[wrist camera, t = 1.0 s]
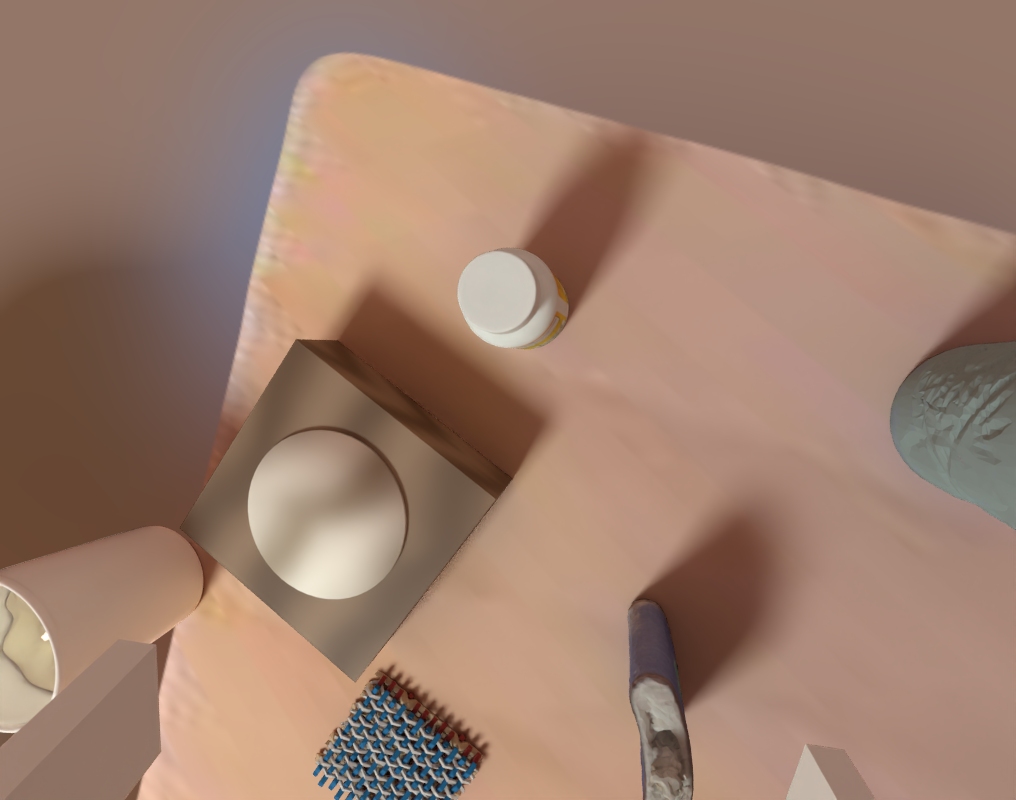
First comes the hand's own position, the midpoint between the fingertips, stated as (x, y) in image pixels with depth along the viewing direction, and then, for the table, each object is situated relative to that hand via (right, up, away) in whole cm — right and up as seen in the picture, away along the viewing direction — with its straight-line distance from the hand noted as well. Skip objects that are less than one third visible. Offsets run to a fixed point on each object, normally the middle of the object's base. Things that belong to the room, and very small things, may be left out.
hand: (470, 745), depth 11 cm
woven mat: (-7, -20, +30) cm, 37 cm away
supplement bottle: (+2, +13, +24) cm, 28 cm away
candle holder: (-28, -7, +33) cm, 43 cm away
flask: (+11, -11, +25) cm, 29 cm away
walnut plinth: (-10, 0, +28) cm, 30 cm away
